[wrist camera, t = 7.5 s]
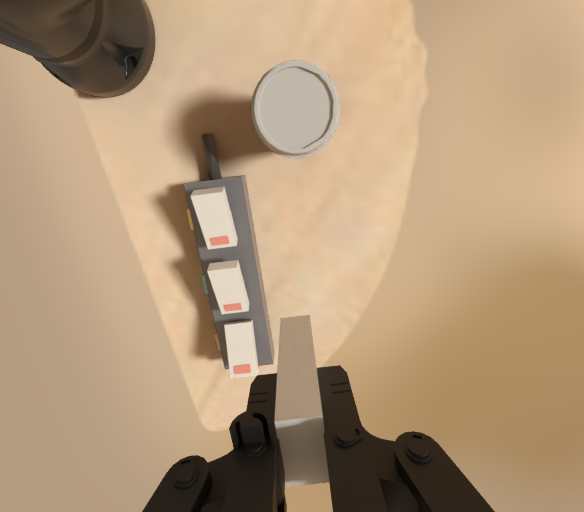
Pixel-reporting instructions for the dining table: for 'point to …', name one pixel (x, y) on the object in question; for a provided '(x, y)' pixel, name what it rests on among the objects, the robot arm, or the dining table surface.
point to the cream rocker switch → (241, 349)
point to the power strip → (233, 257)
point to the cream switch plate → (228, 286)
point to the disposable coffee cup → (295, 109)
